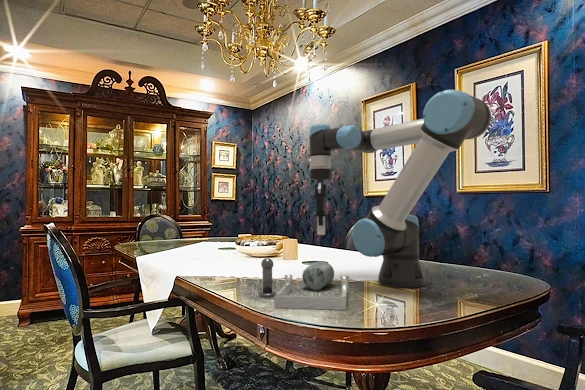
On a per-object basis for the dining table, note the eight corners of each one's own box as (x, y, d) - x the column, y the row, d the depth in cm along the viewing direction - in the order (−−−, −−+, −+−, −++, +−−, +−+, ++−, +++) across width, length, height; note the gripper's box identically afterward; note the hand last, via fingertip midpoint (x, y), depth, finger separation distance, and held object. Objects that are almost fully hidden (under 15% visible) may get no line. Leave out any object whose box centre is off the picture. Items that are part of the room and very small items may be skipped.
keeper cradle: (349, 292, 120) (348, 275, 120) (348, 310, 100) (347, 290, 100) (285, 290, 123) (285, 274, 123) (272, 307, 103) (271, 288, 103)
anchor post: (277, 293, 119) (277, 257, 119) (274, 297, 114) (273, 259, 114) (261, 293, 120) (261, 256, 120) (257, 297, 115) (257, 259, 115)
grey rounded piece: (327, 282, 118) (316, 252, 123) (301, 295, 122) (291, 265, 126) (345, 285, 129) (335, 258, 134) (321, 296, 133) (311, 269, 137)
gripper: (311, 170, 149) (312, 233, 148) (307, 167, 136) (308, 236, 135) (332, 169, 147) (332, 233, 147) (329, 166, 135) (330, 236, 134)
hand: (321, 234), depth 141 cm, fingers closed
